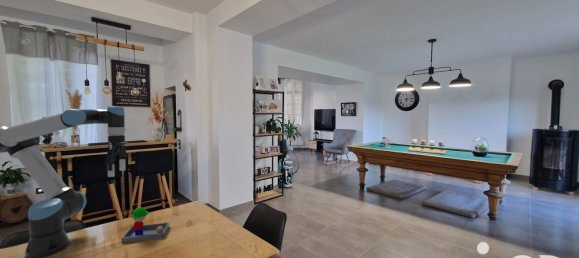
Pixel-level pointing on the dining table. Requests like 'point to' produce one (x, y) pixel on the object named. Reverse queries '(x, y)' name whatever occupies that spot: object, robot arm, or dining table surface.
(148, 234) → the tray
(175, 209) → the dining table surface
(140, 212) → the toy
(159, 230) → the ball
